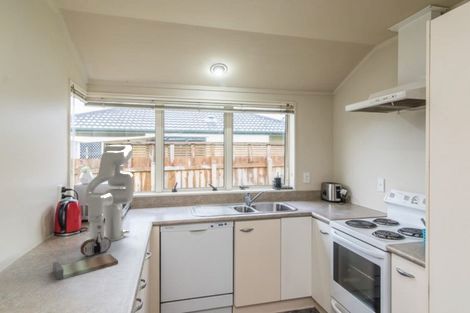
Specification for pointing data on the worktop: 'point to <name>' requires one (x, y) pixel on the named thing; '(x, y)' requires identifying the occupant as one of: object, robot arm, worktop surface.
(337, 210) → the worktop surface
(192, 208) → the worktop surface
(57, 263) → the bracket
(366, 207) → the worktop surface
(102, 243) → the tin
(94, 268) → the mounting board
